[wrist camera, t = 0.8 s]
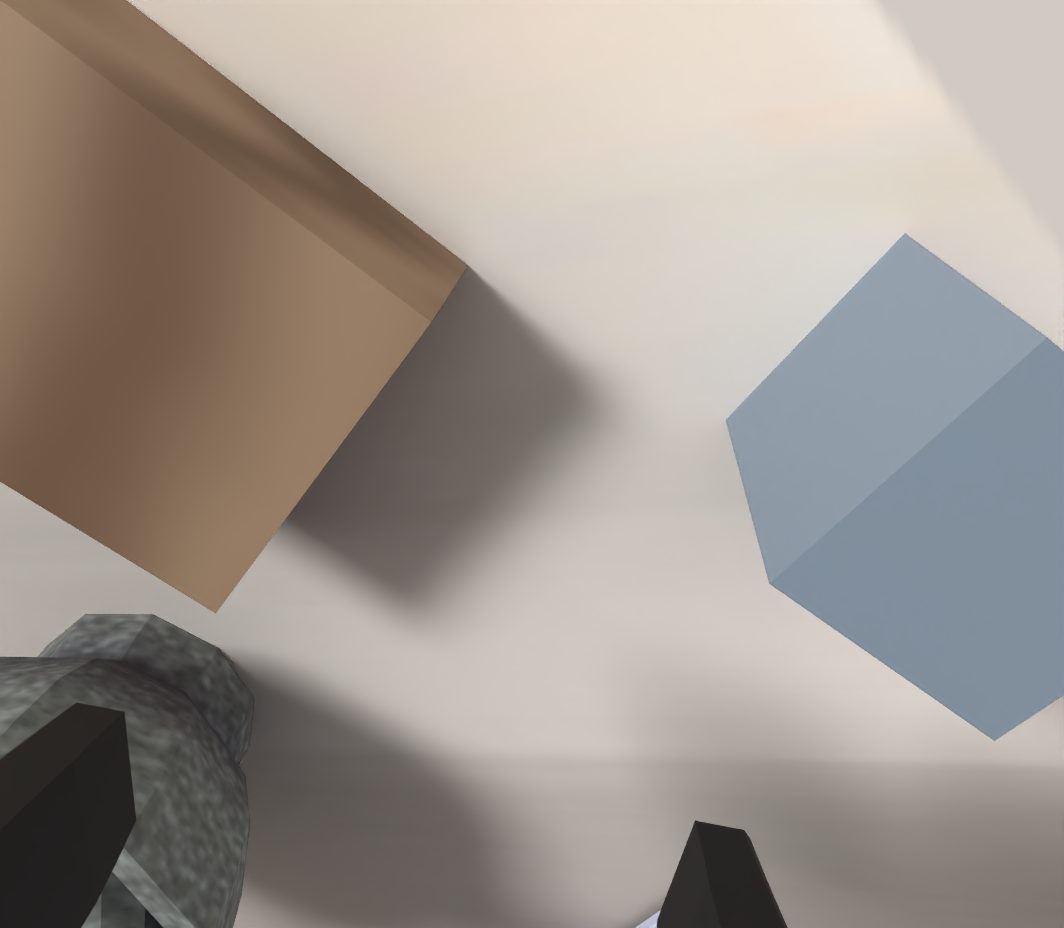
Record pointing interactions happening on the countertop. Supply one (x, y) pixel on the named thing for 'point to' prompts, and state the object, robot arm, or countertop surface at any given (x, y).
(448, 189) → the countertop surface
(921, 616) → the slate block
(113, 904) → the mortar and pestle
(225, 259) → the walnut plinth
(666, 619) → the countertop surface
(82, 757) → the robot arm
